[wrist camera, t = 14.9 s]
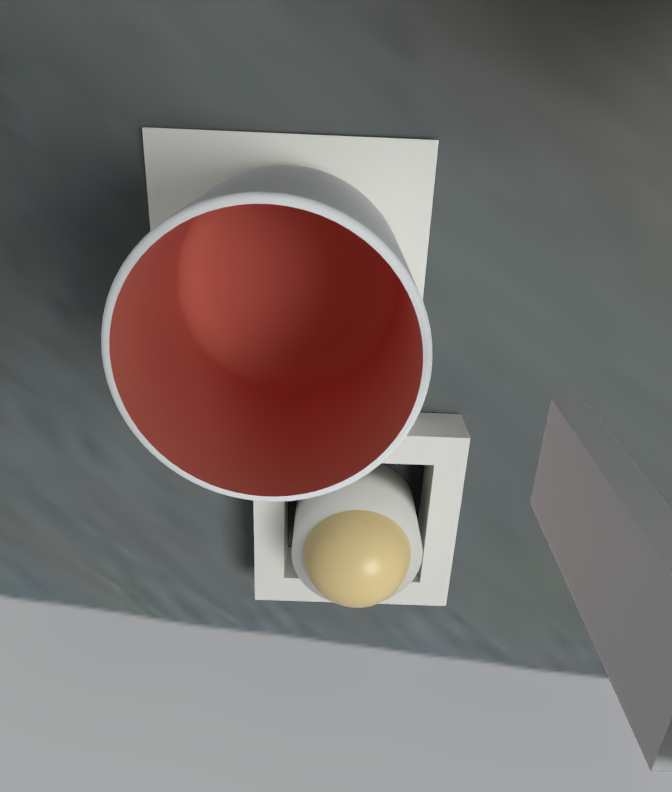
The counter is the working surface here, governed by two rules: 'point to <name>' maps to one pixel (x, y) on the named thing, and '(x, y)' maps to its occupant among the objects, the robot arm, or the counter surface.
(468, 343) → the counter surface
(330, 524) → the dome
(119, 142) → the counter surface
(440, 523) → the dome base
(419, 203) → the pad
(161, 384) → the cup
